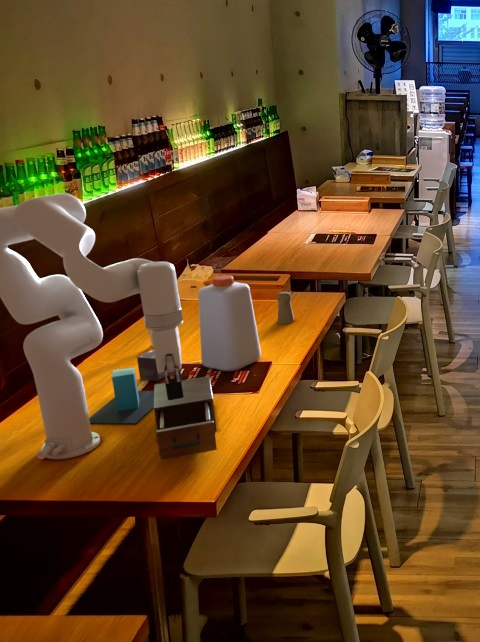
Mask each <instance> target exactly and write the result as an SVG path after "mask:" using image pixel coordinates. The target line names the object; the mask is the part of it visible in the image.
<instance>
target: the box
mask: <svg viewBox="0 0 480 642" xmlns="http://www.w3.org/2000/svg"><path fill="white" fill-rule="evenodd" d="M136 361H137V367H138V374H139V380H142V381H150V382H151V381H152V382H153V381H154V382H158V381H160V380H162V379H163V378H165V372H161V374H159V373H158V371H157V365H156V358H155V352H154V350H149V351H146V352H144V353H142V354H141V355H138V356H137V357H136Z"/></svg>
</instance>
